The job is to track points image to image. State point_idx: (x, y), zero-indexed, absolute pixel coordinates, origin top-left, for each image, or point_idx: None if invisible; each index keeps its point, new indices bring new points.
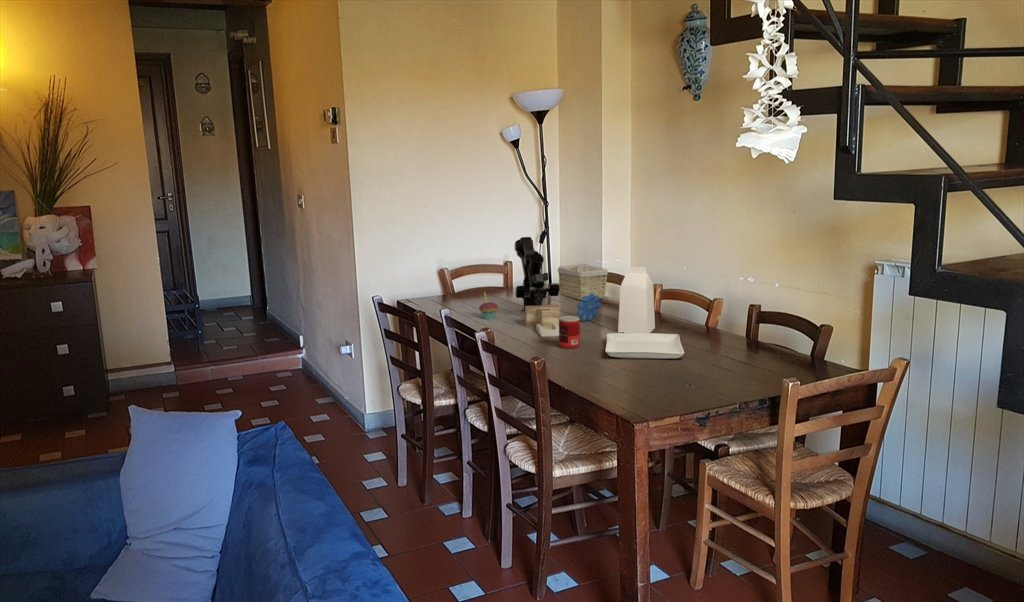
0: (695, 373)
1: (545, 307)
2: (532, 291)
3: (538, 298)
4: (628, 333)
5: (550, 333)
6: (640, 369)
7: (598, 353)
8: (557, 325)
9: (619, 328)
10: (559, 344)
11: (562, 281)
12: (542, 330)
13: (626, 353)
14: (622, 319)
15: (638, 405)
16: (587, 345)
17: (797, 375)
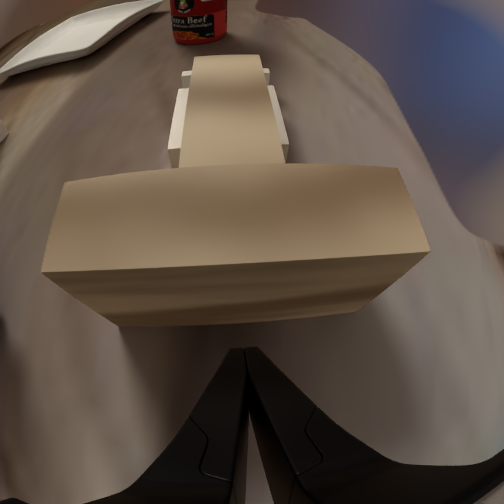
0: (98, 8)
1: (206, 154)
2: (486, 462)
3: (275, 423)
4: (51, 54)
5: None
6: None
7: (160, 20)
8: (177, 112)
9: (2, 124)
10: (226, 28)
11: None
12: (263, 68)
13: (136, 4)
14: None
15: None
16: (154, 41)
17: (32, 29)
